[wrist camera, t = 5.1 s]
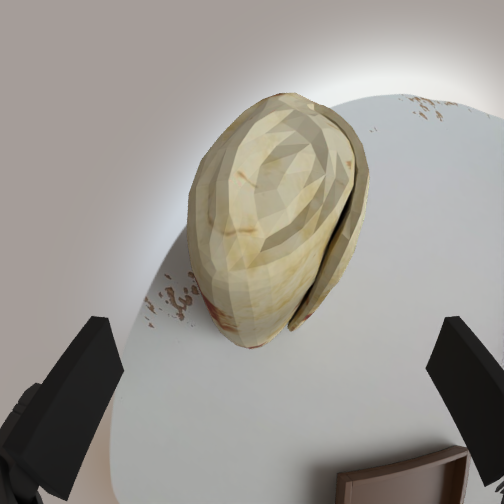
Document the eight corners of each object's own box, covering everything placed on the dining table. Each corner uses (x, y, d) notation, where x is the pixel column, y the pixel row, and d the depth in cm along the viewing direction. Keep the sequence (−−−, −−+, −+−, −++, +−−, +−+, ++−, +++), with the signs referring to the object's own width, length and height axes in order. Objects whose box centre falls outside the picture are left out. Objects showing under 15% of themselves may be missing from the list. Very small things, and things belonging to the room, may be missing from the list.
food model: (252, 246, 29) (246, 54, 11) (318, 270, 28) (400, 98, 10) (210, 341, 26) (105, 250, 8) (281, 370, 25) (352, 349, 6)
